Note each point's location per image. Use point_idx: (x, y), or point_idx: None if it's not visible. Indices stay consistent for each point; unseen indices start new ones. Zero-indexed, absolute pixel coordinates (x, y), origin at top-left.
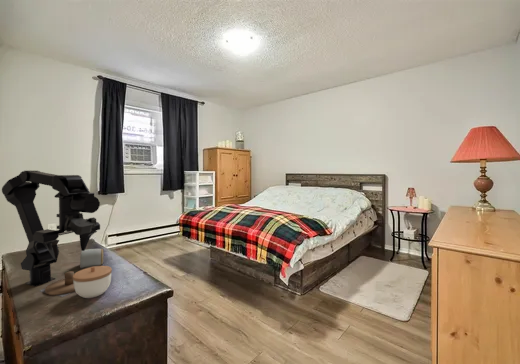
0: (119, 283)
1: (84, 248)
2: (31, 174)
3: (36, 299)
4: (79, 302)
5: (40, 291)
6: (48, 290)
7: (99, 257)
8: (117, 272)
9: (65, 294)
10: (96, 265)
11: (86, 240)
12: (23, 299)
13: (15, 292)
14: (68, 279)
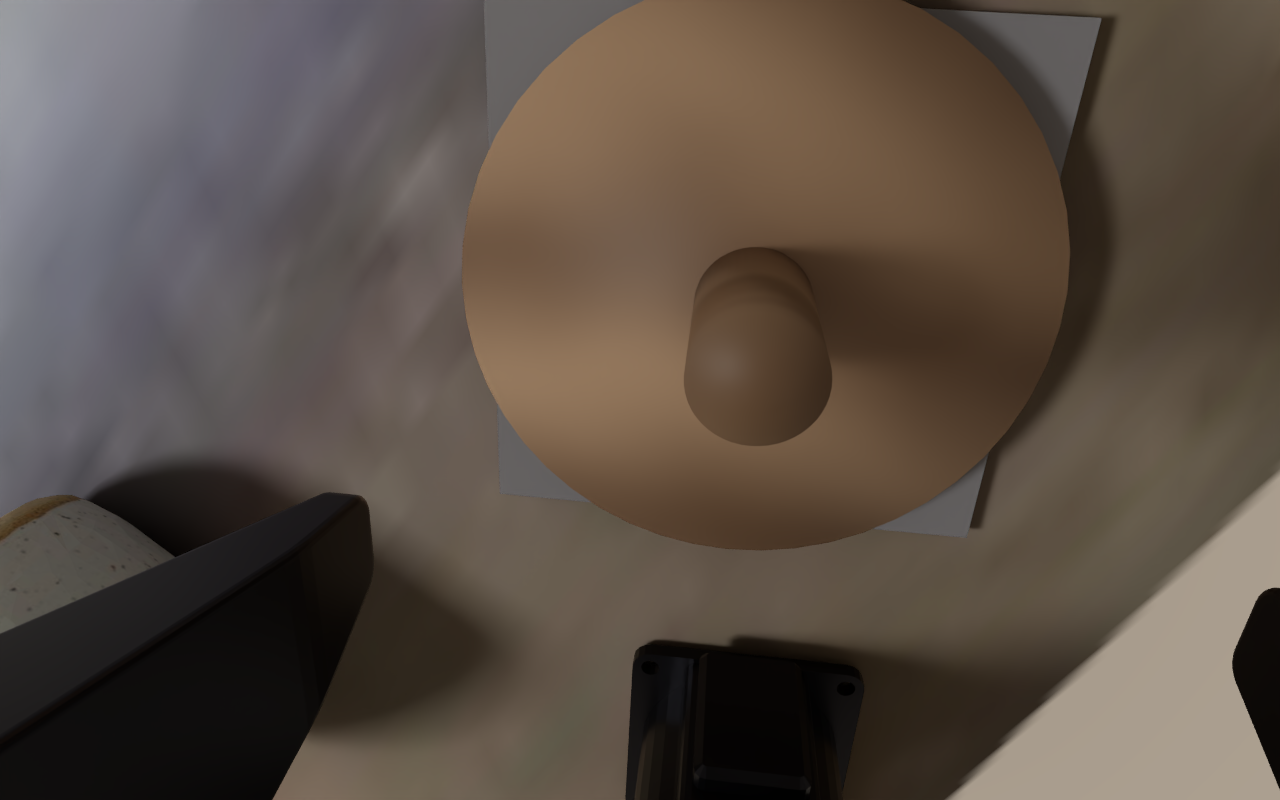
0: None
1: (309, 521)
2: None
3: (1155, 362)
4: None
5: (975, 503)
6: (1006, 384)
7: (18, 560)
8: (81, 7)
9: (1021, 56)
10: (138, 530)
11: (10, 710)
12: (1163, 511)
13: (1005, 738)
14: (804, 300)
